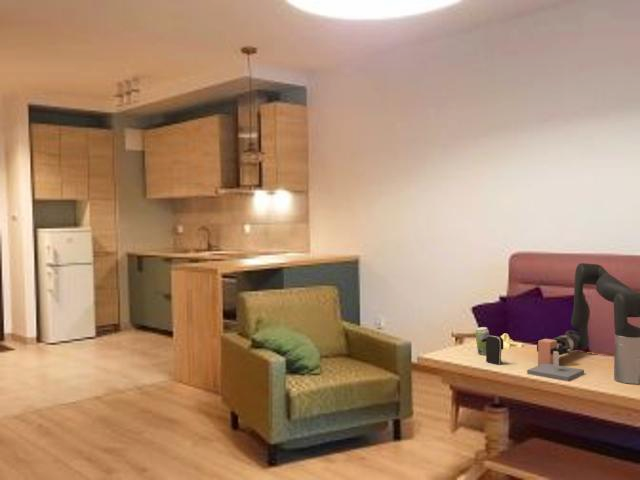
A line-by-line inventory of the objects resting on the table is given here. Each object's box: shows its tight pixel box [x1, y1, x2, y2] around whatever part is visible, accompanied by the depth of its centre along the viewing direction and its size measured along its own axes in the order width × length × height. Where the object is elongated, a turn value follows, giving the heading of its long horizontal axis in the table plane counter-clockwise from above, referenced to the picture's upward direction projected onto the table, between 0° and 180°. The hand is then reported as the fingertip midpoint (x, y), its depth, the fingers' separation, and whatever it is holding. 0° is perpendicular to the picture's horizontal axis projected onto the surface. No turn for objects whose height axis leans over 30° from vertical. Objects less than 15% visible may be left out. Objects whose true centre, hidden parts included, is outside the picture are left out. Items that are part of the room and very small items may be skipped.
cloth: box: [500, 333, 525, 350], centre depth 301 cm, size 22×19×6 cm
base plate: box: [526, 363, 585, 382], centre depth 244 cm, size 16×16×2 cm
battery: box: [485, 335, 504, 365], centre depth 262 cm, size 7×4×11 cm, turn 35°
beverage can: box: [474, 326, 491, 356], centre depth 279 cm, size 6×7×12 cm
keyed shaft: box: [553, 351, 560, 371], centre depth 244 cm, size 2×4×7 cm, turn 167°
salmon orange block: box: [537, 338, 557, 366], centre depth 260 cm, size 5×7×10 cm
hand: (544, 351), depth 258 cm, fingers closed on salmon orange block, 5 cm apart
